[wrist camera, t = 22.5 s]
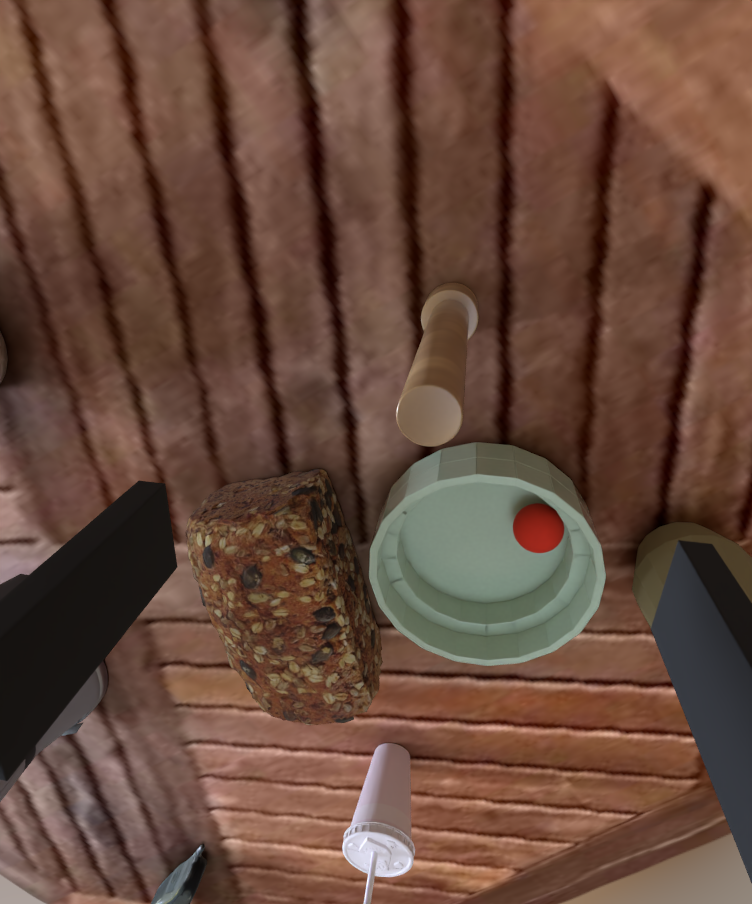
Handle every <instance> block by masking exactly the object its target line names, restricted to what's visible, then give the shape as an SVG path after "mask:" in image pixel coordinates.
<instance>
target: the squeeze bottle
mask: <svg viewBox="0 0 752 904" xmlns="http://www.w3.org/2000/svg"><path fill="white" fill-rule="evenodd" d="M678 540H681V541H690V542H699V543H708V544H713V546H714V547H715V549H716V550H717V552H718V553H719V555H720V556H721V558H722V559H723V561H724V562H725V564H726V565H727V567H728V568H729V570H730V571H731V573H732V574H733V576H734V577H735V579H736V580H737V582H738V583H739V585H740V586H741V588H742V589H743V591H744V592H745V594H746V595H747V597H748V598H749V600H750V601H751V603H752V558H751V557H750V556H749V555H748V554H747V553H746V552H745V551H744V550H743V549H742V548H741V547H740V546H739V545H738V544H736V543H735V542H733V541H731V540H729V539H727V538H725V537H723V536H721V535H719V534H717V533H715V532H714V531H712V530H710V529H708V528H705V527H703V526H700V525H698V524H695V523H692V522H674V523H670V524H667V525H663V526H660V527H658V528H657V529H655V530H654V531H652V532H651V533H649V534H648V535H646V537H645V538H644V539H643V541H642V542H641V544H640V545H639V547H638V552H637V558H636V565H635V572H634V579H633V586H632V590H633V593H634V596H635V598H636V601H637V604H638V606H639V608H640V610H641V611H642V613H643V615H644V617H645V618H646V620H647V622H648V624H649V626H650V627H651V626H652V623H653V620H654V617H655V613H656V610H657V607H658V604H659V601H660V597H661V594H662V591H663V588H664V584H665V581H666V578H667V575H668V572H669V568H670V565H671V562H672V559H673V555H674V552H675V549H676V546H677V543H678Z"/></svg>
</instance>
